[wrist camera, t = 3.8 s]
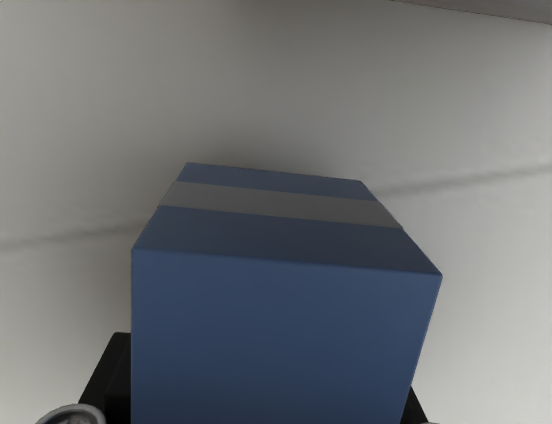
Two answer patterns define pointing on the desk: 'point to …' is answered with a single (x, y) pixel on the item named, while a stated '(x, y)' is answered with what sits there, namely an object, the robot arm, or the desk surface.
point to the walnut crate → (497, 8)
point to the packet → (275, 303)
